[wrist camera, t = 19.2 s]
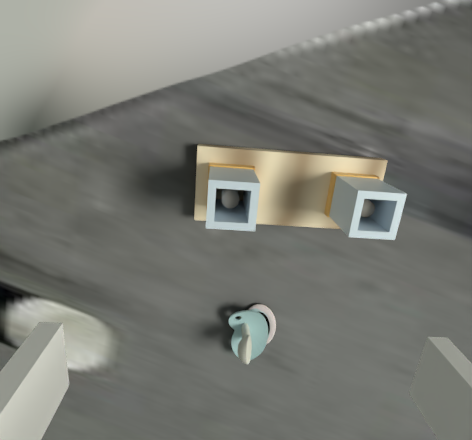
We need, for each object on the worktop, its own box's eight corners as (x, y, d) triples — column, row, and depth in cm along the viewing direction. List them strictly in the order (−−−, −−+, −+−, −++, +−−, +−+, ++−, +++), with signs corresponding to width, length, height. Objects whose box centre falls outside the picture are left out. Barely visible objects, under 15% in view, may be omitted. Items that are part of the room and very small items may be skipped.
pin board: (195, 215, 39) (190, 237, 32) (198, 144, 36) (194, 153, 30) (365, 226, 40) (392, 249, 34) (381, 158, 37) (412, 170, 31)
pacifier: (273, 296, 43) (226, 302, 43) (283, 328, 37) (229, 335, 37) (276, 343, 46) (232, 349, 45) (286, 379, 40) (235, 386, 40)
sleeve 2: (324, 213, 38) (346, 238, 31) (331, 171, 36) (357, 188, 29) (365, 216, 38) (396, 241, 31) (374, 174, 36) (409, 192, 30)
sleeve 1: (206, 205, 37) (204, 229, 30) (209, 162, 35) (206, 177, 28) (249, 208, 37) (256, 232, 30) (254, 165, 35) (262, 181, 29)
